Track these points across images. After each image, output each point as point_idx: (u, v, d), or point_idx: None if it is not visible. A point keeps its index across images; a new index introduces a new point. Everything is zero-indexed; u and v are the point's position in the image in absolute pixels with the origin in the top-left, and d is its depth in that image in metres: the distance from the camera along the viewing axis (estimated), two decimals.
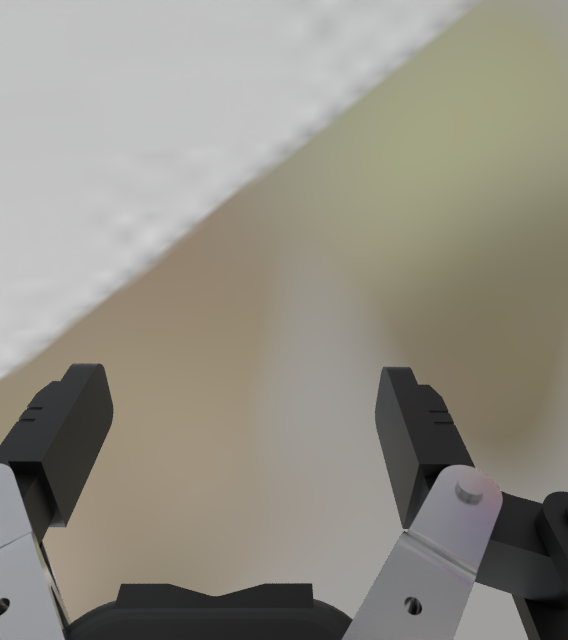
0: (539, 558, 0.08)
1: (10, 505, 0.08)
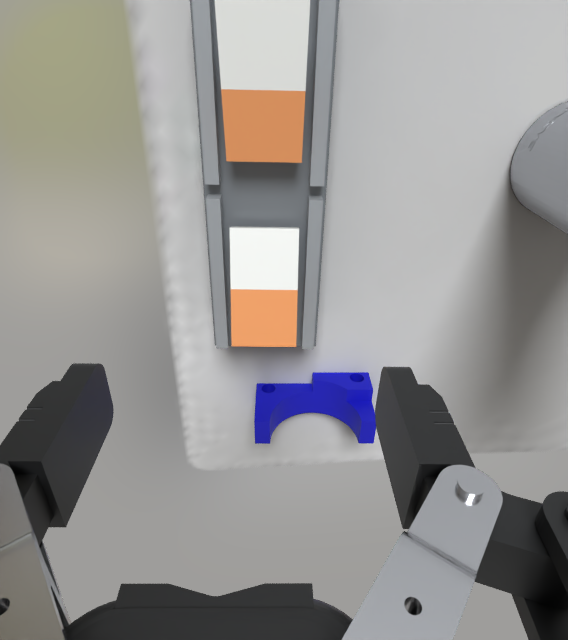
0: (539, 558, 0.08)
1: (10, 505, 0.08)
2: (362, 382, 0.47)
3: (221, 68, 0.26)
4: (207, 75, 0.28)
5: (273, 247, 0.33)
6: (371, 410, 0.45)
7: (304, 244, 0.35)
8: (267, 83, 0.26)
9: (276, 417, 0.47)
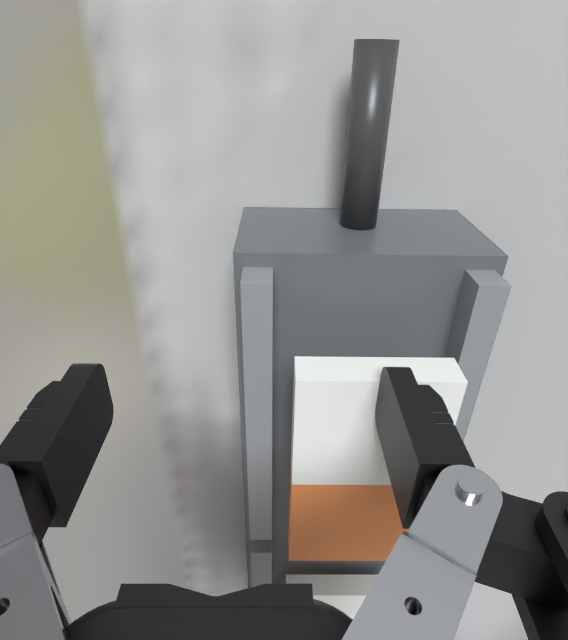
0: (539, 558, 0.08)
1: (10, 505, 0.08)
2: None
3: (295, 461, 0.15)
4: (262, 431, 0.17)
5: (351, 618, 0.21)
6: None
7: None
8: (373, 477, 0.15)
9: None
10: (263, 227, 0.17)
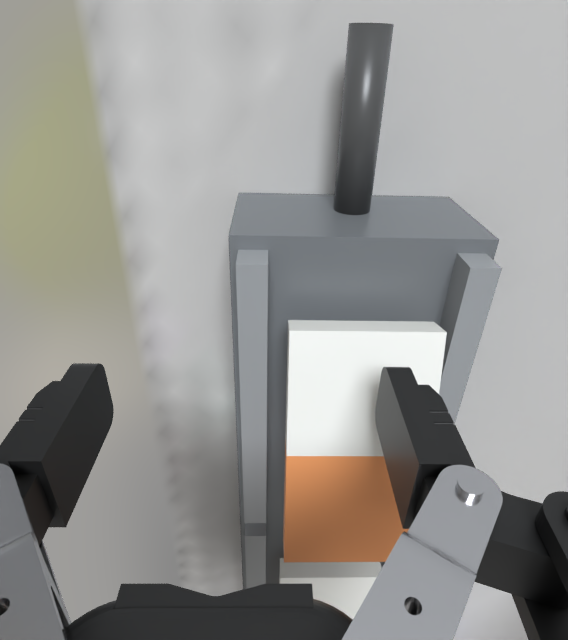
0: (539, 558, 0.08)
1: (10, 505, 0.08)
2: None
3: (290, 426, 0.15)
4: (257, 414, 0.17)
5: (344, 599, 0.22)
6: None
7: None
8: (367, 446, 0.15)
9: None
10: (257, 211, 0.17)
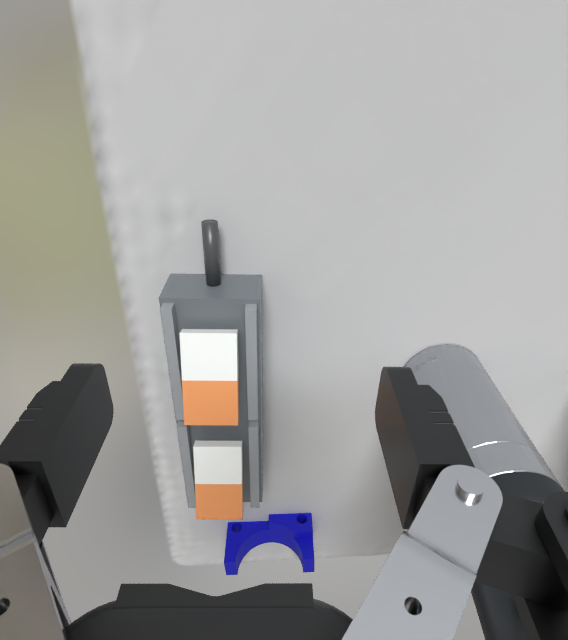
0: (539, 558, 0.08)
1: (10, 505, 0.08)
2: (305, 524, 0.62)
3: (182, 368, 0.40)
4: (175, 366, 0.42)
5: (224, 458, 0.47)
6: (311, 548, 0.61)
7: (248, 445, 0.49)
8: (212, 376, 0.40)
9: (242, 552, 0.62)
10: (174, 285, 0.42)
